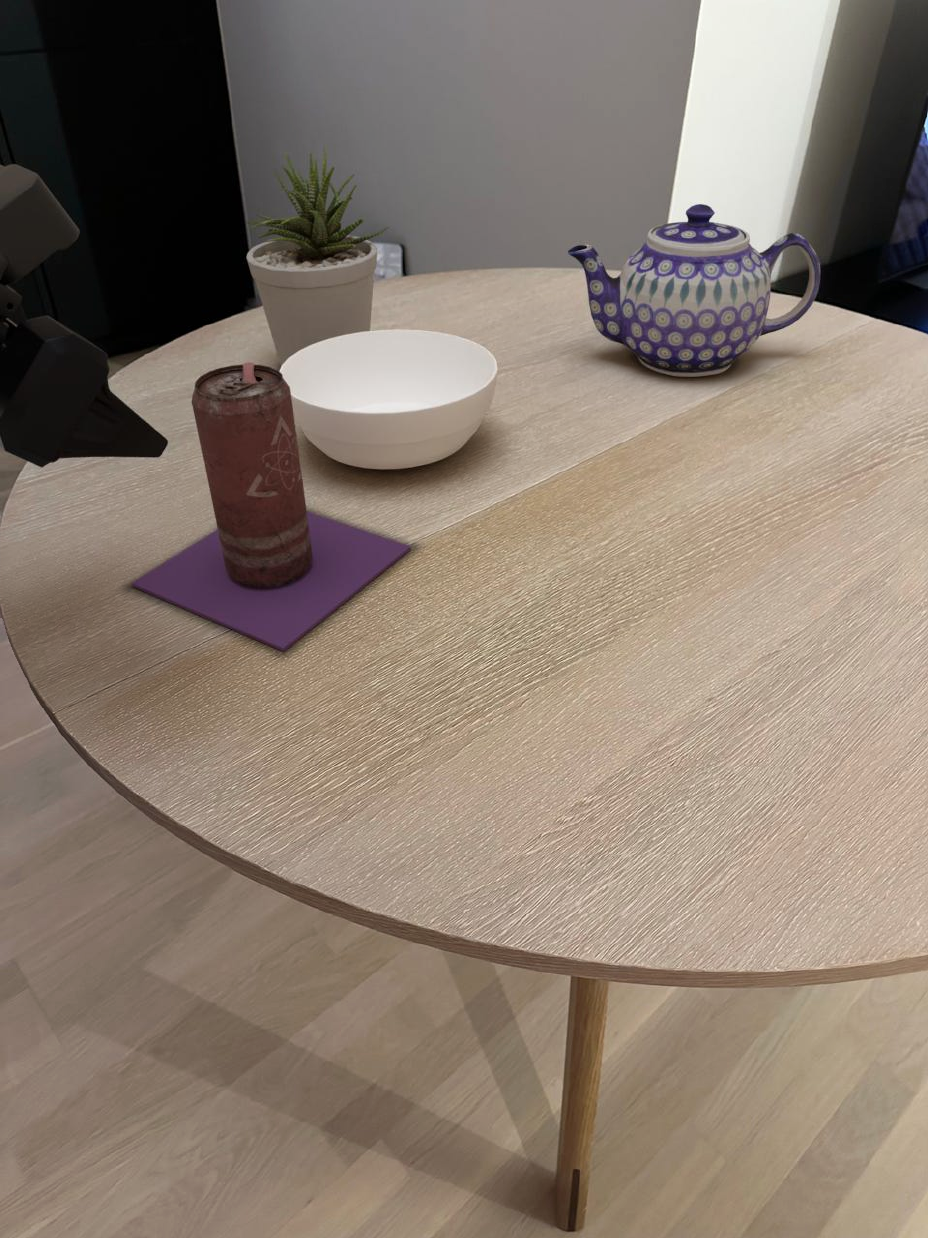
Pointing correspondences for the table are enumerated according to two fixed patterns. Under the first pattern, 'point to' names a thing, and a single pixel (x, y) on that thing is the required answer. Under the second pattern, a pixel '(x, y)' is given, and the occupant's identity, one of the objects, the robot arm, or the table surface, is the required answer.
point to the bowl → (390, 395)
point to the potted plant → (313, 268)
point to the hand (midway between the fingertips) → (129, 422)
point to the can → (254, 473)
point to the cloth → (280, 611)
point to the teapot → (692, 294)
